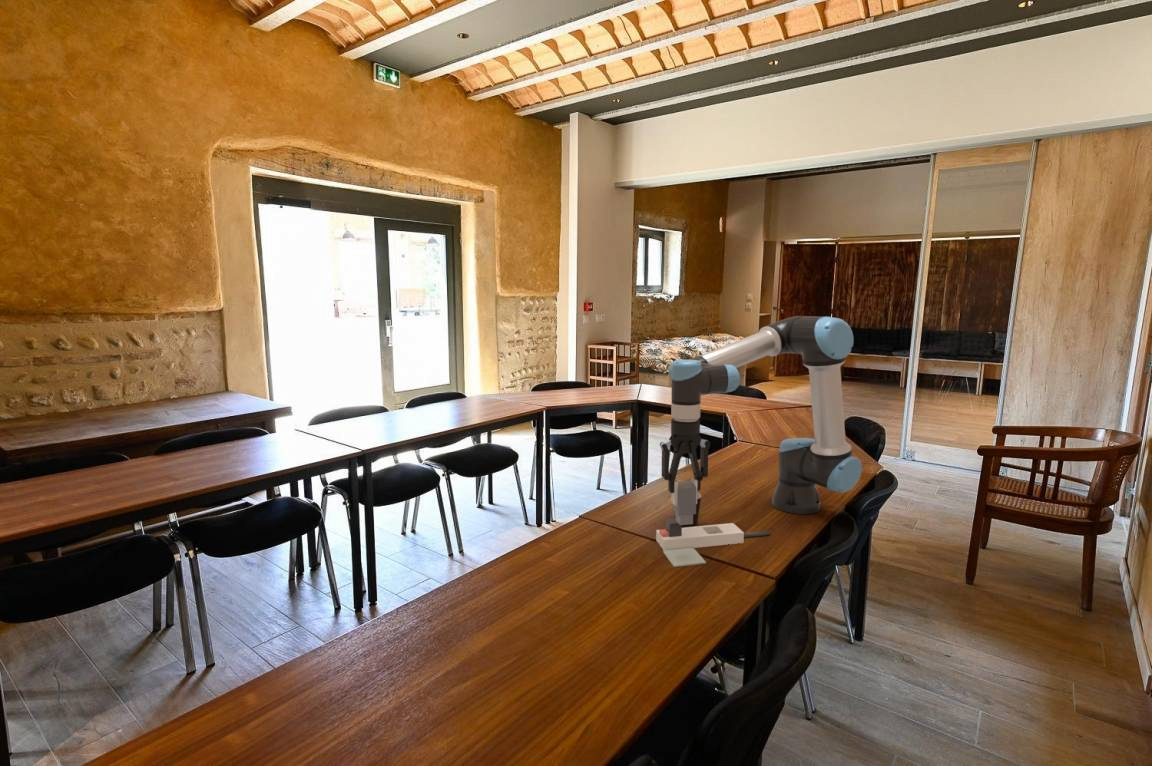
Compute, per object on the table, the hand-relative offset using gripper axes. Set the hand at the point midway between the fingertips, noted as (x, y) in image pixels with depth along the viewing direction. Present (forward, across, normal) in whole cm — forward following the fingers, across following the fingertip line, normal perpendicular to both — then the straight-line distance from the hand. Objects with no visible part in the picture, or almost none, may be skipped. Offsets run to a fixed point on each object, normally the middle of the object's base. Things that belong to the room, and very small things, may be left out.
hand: (684, 502), depth 153 cm
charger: (+5, 0, 0) cm, 5 cm away
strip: (+16, -13, -9) cm, 22 cm away
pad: (+16, 0, 0) cm, 16 cm away
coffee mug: (+16, -9, -22) cm, 28 cm away
